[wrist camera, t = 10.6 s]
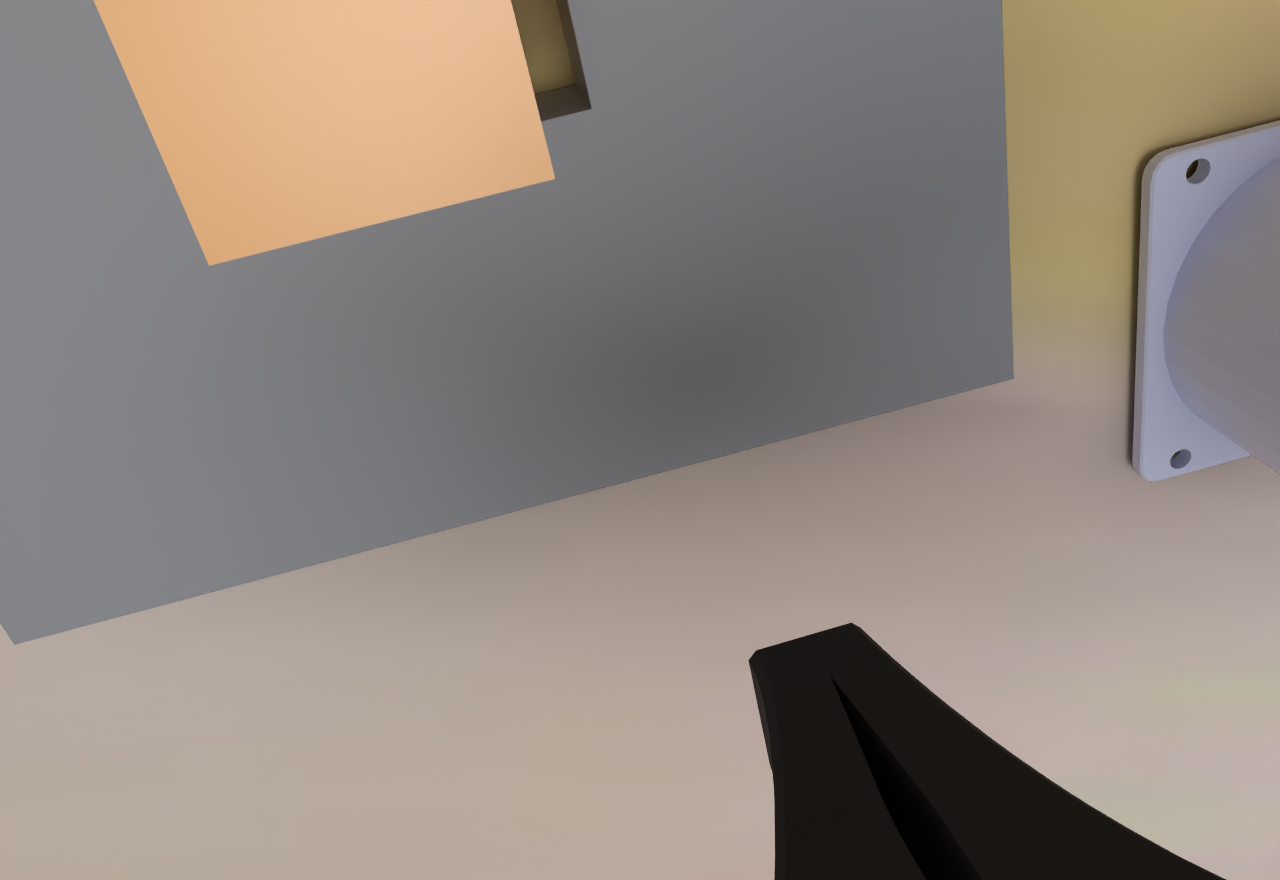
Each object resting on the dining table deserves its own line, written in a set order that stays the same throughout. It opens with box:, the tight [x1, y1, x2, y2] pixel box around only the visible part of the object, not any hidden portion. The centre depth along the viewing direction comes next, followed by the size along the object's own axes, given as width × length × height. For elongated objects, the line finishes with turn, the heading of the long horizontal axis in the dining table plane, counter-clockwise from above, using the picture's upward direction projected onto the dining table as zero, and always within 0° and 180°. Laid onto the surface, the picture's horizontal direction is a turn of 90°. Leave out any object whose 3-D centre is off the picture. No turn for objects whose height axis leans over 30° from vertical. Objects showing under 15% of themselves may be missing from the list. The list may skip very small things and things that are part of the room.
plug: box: [94, 0, 555, 266], centre depth 14 cm, size 4×4×8 cm
